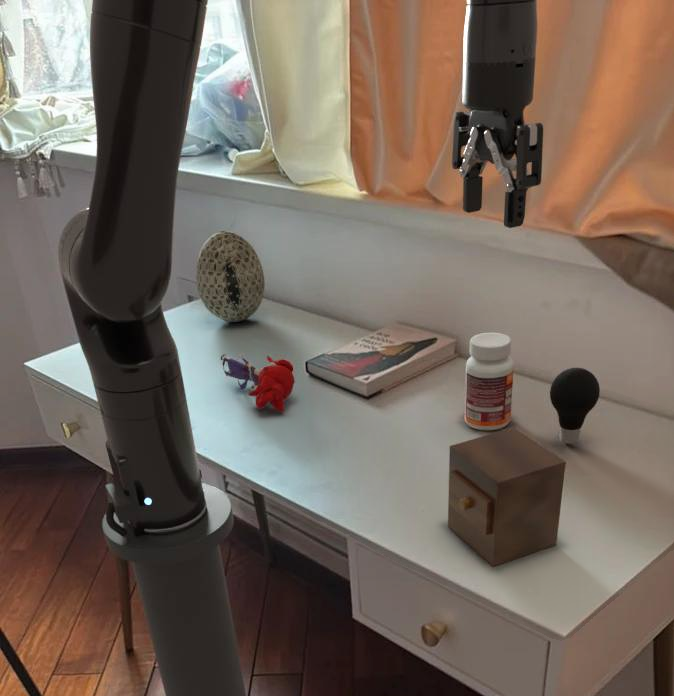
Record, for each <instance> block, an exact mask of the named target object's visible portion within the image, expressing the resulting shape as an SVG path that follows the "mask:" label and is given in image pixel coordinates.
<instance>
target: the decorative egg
mask: <svg viewBox="0 0 674 696" xmlns="http://www.w3.org/2000/svg"><path fill="white" fill-rule="evenodd" d="M195 267H196V269H195V271H196V272H195V278H196V286H197V290H198V291H197V292H198V294H199V297H200V299H201V302H202V303H203V305H204V306H205V308H206V309H207V310H208V312H210V313H211V314H212V315H213V316H215V317H216V318H217V319H220V320H222V321H224V322H230V323H238V322H243V321H245V320H247V319H249V318H250V317H251V316H253V315H254V314H255V313H256V312H257V310H258V309H259V308H260V306H261V304H262V302H263V299H264V296H265V295H264V294H265V284H266V283H265V275H264V269H263V265H262V263H261V260H260V258H259V256H258V254H257V252H256V250H255V249H254V247H253V246H252V245H251V243H250V242H249V241H247V239H245V238H244V237H243V236H242V235H240V234H238V233H236V232H233V231H230V230H222V231H217V232H215V233H214V234H212V235H211V236H210V237H208V238H207V240H206V241H205V242H204V243H203V245H202V247H201V249H200V251H199V254H198V257H197V261H196V266H195Z"/></svg>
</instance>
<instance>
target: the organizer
mask: <svg viewBox="0 0 674 696" xmlns="http://www.w3.org/2000/svg"><path fill="white" fill-rule="evenodd" d="M448 457H449V458H448V466H449V467H448V506H447V507H448V509H447V527H448V528H449V529H450V530H451V531H452V532H454V534H455V535H457V536H458V537H459V538H460V539H461V540H463V541H464V542H465V544H467V545H468V546H469V547H470V548H471V549H473V550H474V551H475V552H476V553H477V554H478V555H479V556H480V557H482V558H483V559H484V560H485V561H486V562H487V563H488V564H489V565H490V566H492V567H497V566H500V565H503V564H505V563H508V562H511V561H514V560H516V559H519V558H523V557H525V556H528V555H531V554H534V553H537V552H540V551H543V550H545V549H548V548H551V547H555V546H557V544H558V543H557V541H558V534H559V524H560V516H561V507H562V499H563V489H564V482H565V481H564V480H565V474H566V473H565V472H566V466H567V465H566V464H567V461H565V460H564V459H562V458H561V457H560V456H558V455H557V454H555V453H554V452H552V451H551V450H549V449H547V447H544V446H543V445H541V444H540V443H538V442H537V441H535V440H534V439H532V438H531V437H529V436H527V435H526V434H524V433H523V432H521V431H520V430H518V429H517V428H515V427H509V428H506V429H503V430H500V431H496V432H492V433H490V434H485V435H482V436H478V437H475V438H472V439H469V440H465V441H462V442H457V443H455V444H451V445H449V455H448Z"/></svg>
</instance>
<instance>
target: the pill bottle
mask: <svg viewBox="0 0 674 696" xmlns="http://www.w3.org/2000/svg"><path fill="white" fill-rule="evenodd" d="M511 348H512V338H511V337H510V336H509V335H507V334H504V333H500V332H482V333H478V334H475V335H473V336H472V337H471V338H470V340H469V355H470V357H469V358H468V359H467V361H466V362H465V376H464V377H465V378H464V413H463V414H464V415H463V416H464V422H465V423H466V425H467V426H468V427H470V428H472V429H476V430H479V431H495V430H496V431H497V430H500V429H502V428H505V427H507V425H509V423H510V421H511V417H512V402H513V389H514V388H513V387H514V385H513V384H514V371H515V370H514V368H515V364H514V361H513V358H512V357H510V355H511V353H512V349H511Z"/></svg>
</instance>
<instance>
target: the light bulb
mask: <svg viewBox="0 0 674 696" xmlns="http://www.w3.org/2000/svg"><path fill="white" fill-rule="evenodd" d="M549 389H550V390H549V399H550V402H551V405H552V407H553V408H554V409H555V411H556V413H557V419H558V424H559V427H560V428H559V437H558V439H559V441H560V442H562V443H563V444H564V445H565V446H572V445H573V444H576V443H577V442H579V440H580V436H581V430H582V427H583V425H584V423H585V420H586V418H587V415H588V414H589V413H590V412H591V411H592V410H593V409H594V408H595V406H596V405H597V403H598V401H599V399H600V392H601V391H600V389H601V388H600V384H599V381H598V378H597V377H596V375H594V374H593V373H592V372H591V371H589V370H588V369H585V368H583V367H570V368H567V369H565V370H563V371H561V372H560V373H559V374H557V376H556V377H555V378H554V379H553V380H552V383H551V385H550V388H549Z"/></svg>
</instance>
